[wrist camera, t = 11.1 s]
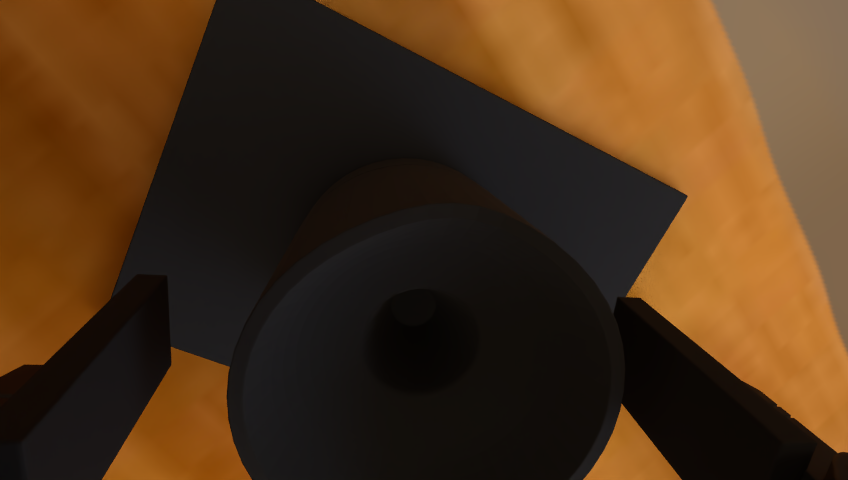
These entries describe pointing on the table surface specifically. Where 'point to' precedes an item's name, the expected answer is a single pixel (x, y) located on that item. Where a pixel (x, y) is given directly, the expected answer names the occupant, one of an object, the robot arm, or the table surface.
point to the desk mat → (352, 162)
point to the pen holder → (424, 342)
